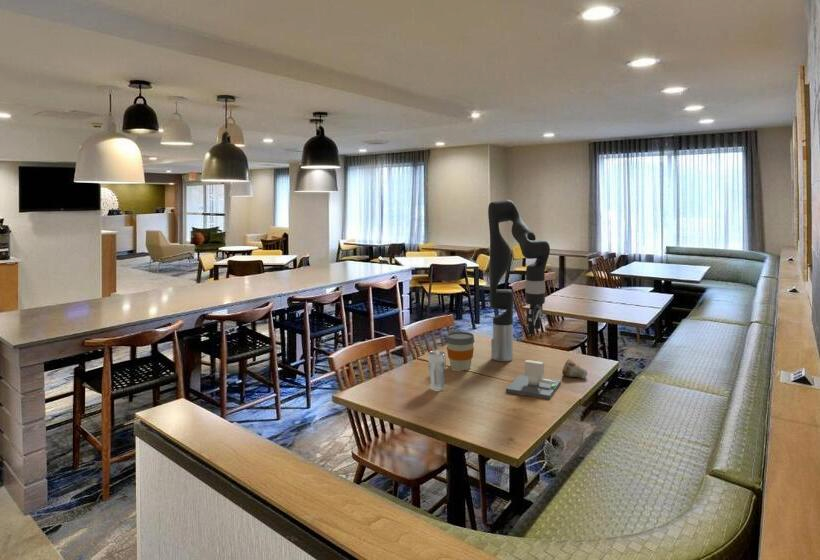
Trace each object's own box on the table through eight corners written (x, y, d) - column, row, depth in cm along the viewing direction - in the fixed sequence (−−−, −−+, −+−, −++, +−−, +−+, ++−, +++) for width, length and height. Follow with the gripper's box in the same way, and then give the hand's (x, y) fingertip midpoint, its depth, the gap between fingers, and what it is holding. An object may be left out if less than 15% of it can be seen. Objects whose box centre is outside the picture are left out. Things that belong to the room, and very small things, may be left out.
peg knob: (523, 384, 206) (523, 362, 205) (527, 380, 210) (527, 359, 208) (549, 388, 201) (549, 365, 199) (552, 384, 205) (552, 362, 203)
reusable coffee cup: (462, 361, 242) (462, 330, 240) (480, 368, 232) (480, 335, 229) (441, 366, 235) (440, 334, 233) (458, 374, 225) (458, 340, 223)
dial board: (506, 392, 203) (506, 386, 202) (519, 377, 218) (519, 372, 218) (549, 399, 195) (549, 392, 194) (560, 383, 210) (560, 377, 210)
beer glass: (427, 386, 211) (427, 350, 209) (444, 385, 212) (444, 349, 210) (429, 392, 205) (429, 355, 202) (447, 391, 205) (446, 354, 203)
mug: (587, 382, 212) (574, 361, 212) (567, 387, 219) (555, 367, 218) (592, 372, 218) (580, 352, 217) (573, 378, 224) (561, 358, 224)
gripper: (539, 295, 194) (539, 337, 197) (549, 288, 206) (548, 327, 209) (520, 293, 198) (520, 334, 201) (530, 287, 210) (530, 326, 213)
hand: (534, 331), depth 205 cm, fingers open, 8 cm apart
